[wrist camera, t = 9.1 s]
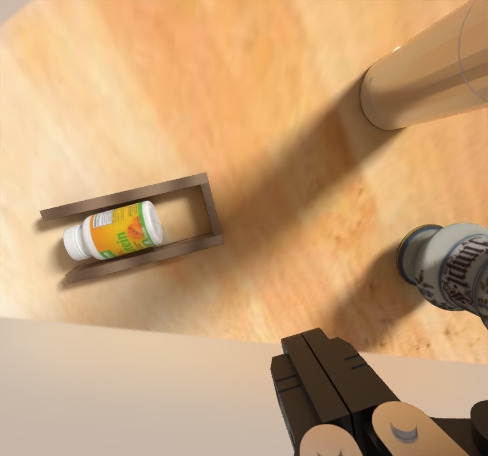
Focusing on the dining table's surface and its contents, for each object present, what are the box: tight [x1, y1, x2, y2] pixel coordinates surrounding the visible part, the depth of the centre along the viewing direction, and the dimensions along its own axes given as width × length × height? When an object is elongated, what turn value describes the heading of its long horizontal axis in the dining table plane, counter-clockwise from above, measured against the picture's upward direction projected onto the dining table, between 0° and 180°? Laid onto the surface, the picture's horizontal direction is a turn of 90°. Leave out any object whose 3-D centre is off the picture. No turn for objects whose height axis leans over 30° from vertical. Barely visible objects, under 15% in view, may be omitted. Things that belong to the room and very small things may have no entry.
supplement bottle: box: [63, 201, 163, 261], centre depth 32 cm, size 5×5×10 cm
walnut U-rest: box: [40, 173, 224, 284], centre depth 33 cm, size 19×9×3 cm, turn 103°
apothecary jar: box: [397, 223, 488, 329], centre depth 33 cm, size 12×12×18 cm
